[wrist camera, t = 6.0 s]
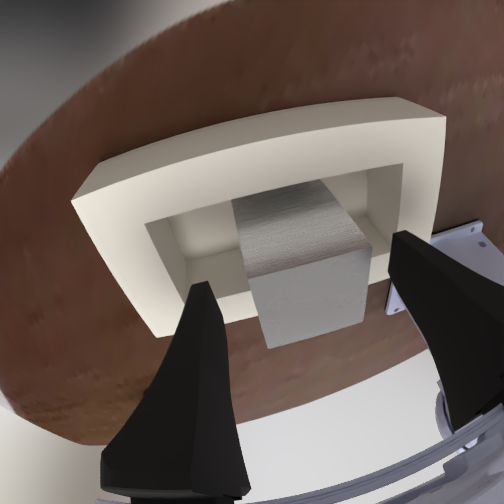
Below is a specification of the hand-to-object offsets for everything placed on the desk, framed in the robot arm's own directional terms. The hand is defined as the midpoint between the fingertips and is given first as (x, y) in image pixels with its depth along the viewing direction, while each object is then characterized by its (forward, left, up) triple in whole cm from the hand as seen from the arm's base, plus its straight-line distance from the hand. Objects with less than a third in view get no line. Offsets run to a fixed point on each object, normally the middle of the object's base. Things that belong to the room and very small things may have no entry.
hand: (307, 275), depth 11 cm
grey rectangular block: (0, 0, -6) cm, 6 cm away
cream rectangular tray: (0, 0, -6) cm, 6 cm away
